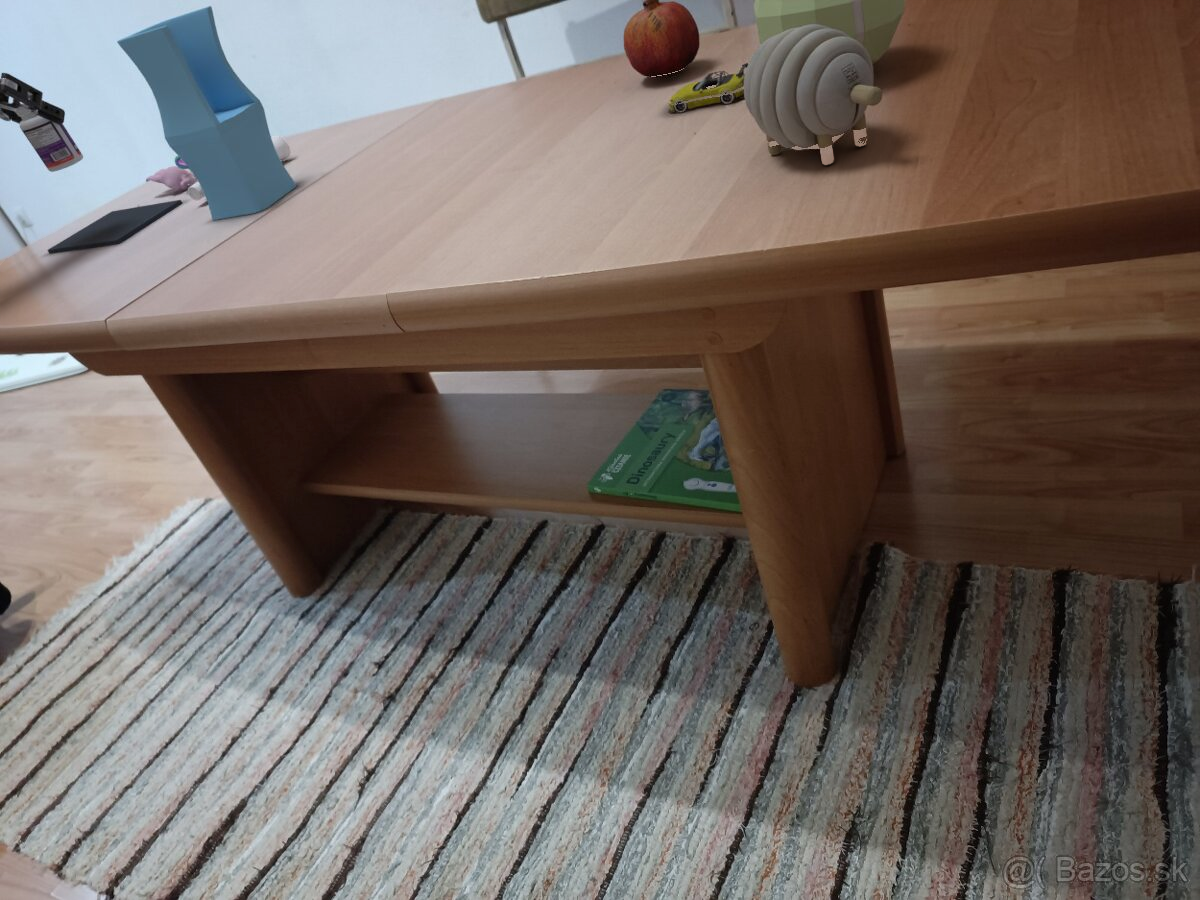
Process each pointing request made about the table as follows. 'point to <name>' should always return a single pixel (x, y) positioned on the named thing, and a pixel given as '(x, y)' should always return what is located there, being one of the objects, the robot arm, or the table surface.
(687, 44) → the fruit
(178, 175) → the pink figurine
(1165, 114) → the table surface
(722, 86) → the toy car
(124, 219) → the mat
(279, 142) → the binoculars
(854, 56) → the toy sheep
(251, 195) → the vase
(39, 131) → the pill bottle
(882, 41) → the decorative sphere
